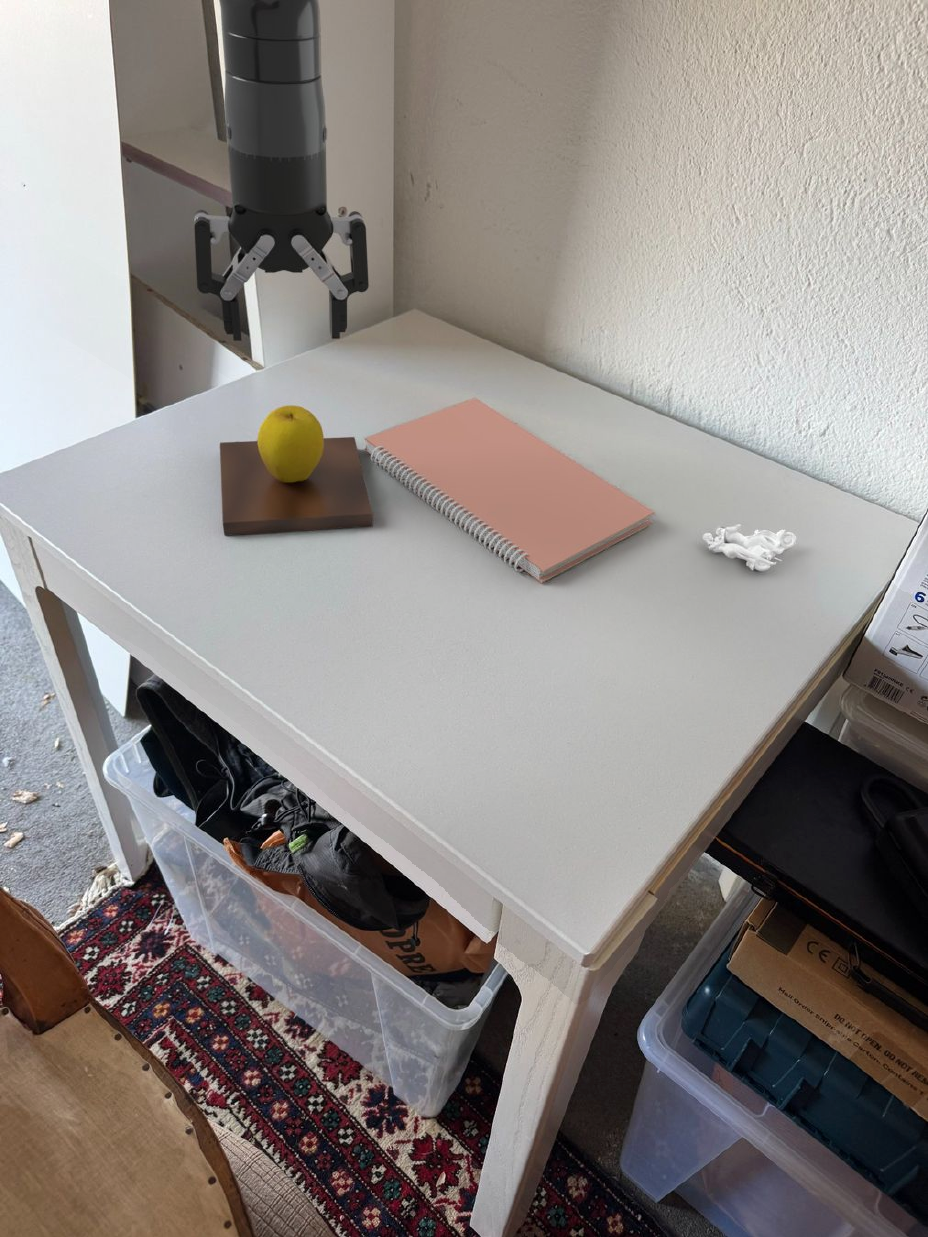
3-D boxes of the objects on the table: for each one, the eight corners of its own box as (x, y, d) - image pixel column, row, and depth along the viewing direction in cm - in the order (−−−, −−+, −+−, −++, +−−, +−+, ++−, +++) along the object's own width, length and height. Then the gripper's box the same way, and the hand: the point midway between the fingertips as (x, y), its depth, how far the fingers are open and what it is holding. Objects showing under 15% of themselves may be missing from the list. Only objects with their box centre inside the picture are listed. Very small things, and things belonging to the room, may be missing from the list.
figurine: (690, 553, 91) (733, 518, 96) (760, 589, 88) (801, 551, 92) (696, 529, 89) (740, 494, 94) (768, 565, 86) (809, 527, 90)
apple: (292, 503, 89) (288, 431, 84) (247, 476, 92) (240, 404, 86) (339, 477, 93) (338, 406, 88) (294, 452, 96) (291, 382, 90)
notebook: (356, 454, 99) (356, 438, 98) (473, 410, 108) (475, 395, 106) (533, 589, 85) (535, 572, 83) (651, 525, 94) (655, 509, 92)
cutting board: (224, 535, 87) (222, 522, 86) (220, 454, 97) (219, 442, 96) (372, 526, 90) (372, 514, 89) (354, 448, 100) (354, 436, 99)
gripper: (362, 127, 76) (360, 317, 86) (181, 121, 73) (203, 318, 83) (375, 155, 70) (371, 354, 81) (180, 150, 67) (203, 357, 78)
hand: (286, 336), depth 82 cm, fingers open, 8 cm apart
